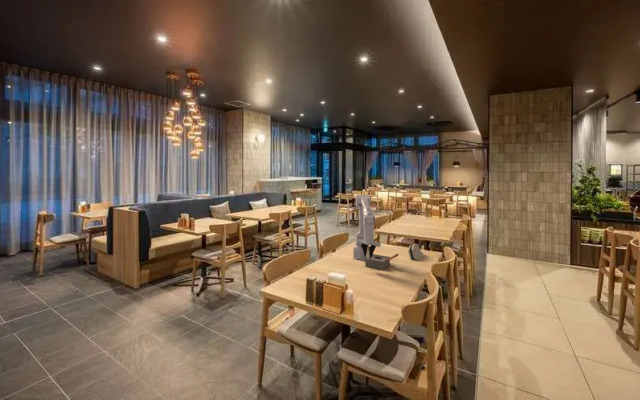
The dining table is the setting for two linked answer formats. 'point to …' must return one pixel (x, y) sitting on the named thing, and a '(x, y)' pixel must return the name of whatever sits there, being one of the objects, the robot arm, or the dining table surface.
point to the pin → (368, 253)
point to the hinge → (414, 252)
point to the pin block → (378, 262)
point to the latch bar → (392, 257)
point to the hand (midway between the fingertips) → (368, 256)
